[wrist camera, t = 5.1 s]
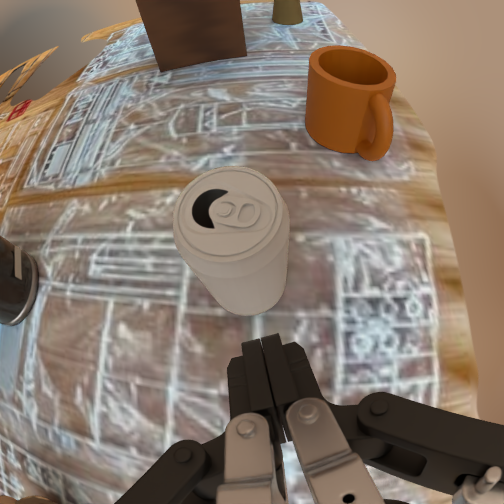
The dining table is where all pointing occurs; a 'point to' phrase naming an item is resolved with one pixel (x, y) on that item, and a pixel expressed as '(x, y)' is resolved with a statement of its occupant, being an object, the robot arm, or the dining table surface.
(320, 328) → the dining table surface
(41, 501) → the action figure
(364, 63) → the mug
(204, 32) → the box
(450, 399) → the dining table surface
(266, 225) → the beverage can
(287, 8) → the pepper shaker
